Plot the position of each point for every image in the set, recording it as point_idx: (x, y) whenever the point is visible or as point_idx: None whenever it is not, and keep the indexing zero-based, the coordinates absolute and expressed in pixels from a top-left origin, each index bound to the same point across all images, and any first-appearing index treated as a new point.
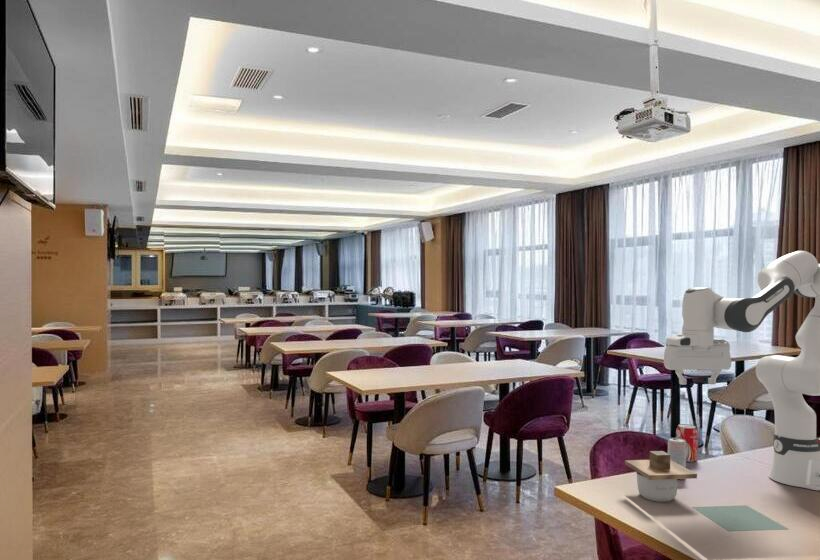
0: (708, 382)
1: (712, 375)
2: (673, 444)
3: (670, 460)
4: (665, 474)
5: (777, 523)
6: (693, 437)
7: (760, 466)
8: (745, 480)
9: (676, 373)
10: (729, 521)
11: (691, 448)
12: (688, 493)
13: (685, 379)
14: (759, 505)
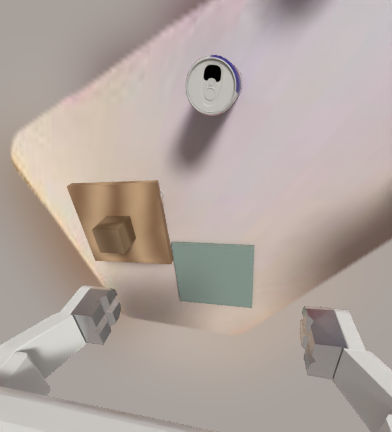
0: (305, 314)
1: (368, 383)
2: (193, 107)
3: (154, 192)
4: (120, 260)
5: (250, 295)
6: None
7: None
8: (379, 109)
9: (10, 347)
10: (195, 284)
11: None
12: (198, 183)
13: (96, 341)
14: (283, 238)
